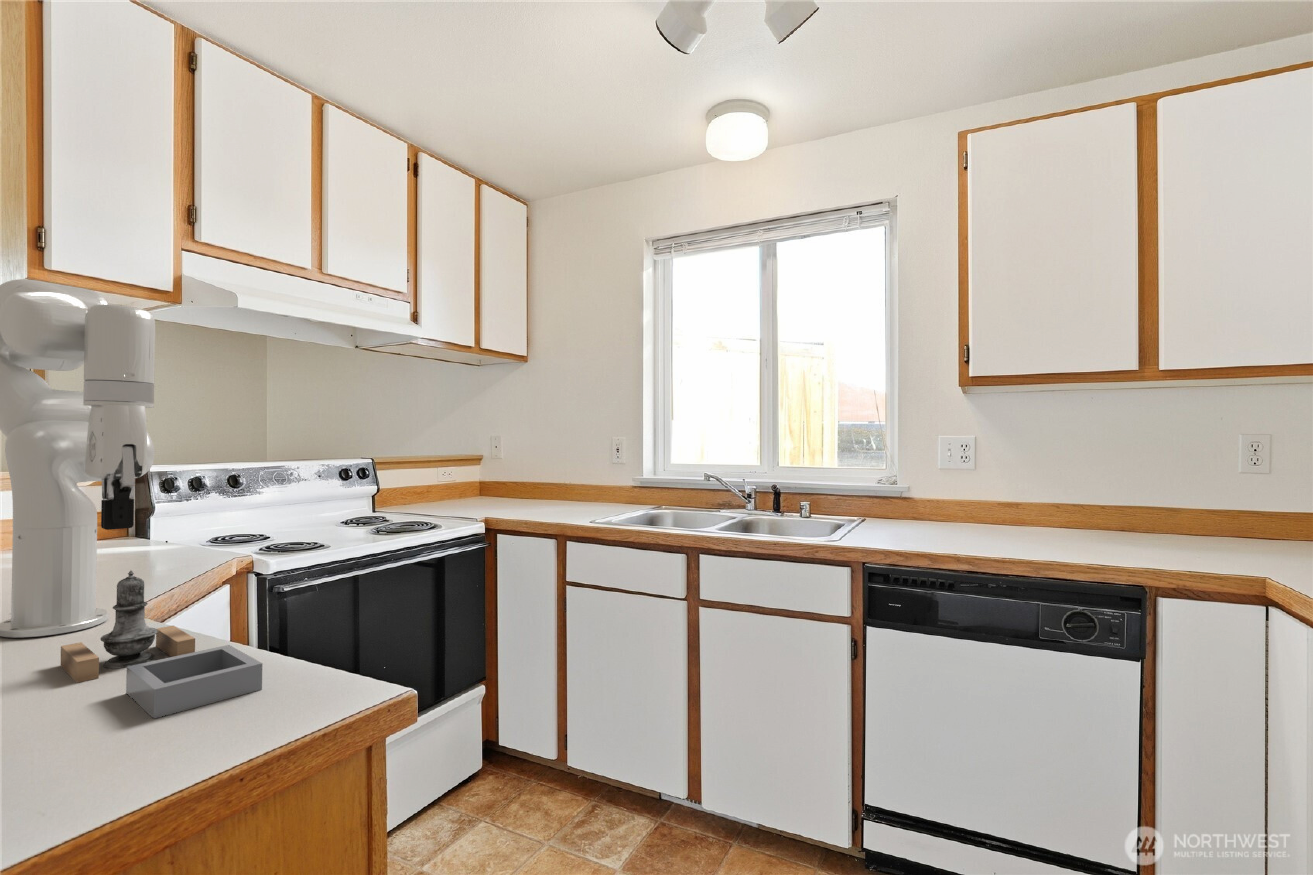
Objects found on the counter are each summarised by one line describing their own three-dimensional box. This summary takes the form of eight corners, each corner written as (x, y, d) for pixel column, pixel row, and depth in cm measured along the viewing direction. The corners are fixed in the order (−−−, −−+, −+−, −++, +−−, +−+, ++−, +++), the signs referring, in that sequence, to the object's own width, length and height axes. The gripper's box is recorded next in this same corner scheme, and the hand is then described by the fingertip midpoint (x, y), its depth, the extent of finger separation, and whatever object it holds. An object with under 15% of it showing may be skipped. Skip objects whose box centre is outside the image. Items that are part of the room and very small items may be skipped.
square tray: (126, 693, 74) (126, 666, 74) (228, 668, 82) (228, 644, 82) (154, 718, 68) (154, 689, 68) (261, 689, 76) (262, 663, 76)
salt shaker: (124, 671, 81) (126, 576, 81) (87, 667, 82) (89, 573, 82) (168, 655, 87) (170, 567, 87) (133, 652, 88) (135, 564, 88)
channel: (60, 665, 83) (60, 646, 83) (172, 642, 92) (173, 625, 92) (77, 682, 77) (77, 661, 77) (194, 656, 87) (195, 638, 87)
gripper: (71, 396, 90) (68, 525, 90) (98, 392, 81) (95, 537, 81) (137, 399, 96) (135, 521, 96) (170, 396, 87) (167, 530, 87)
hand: (117, 528), depth 89 cm, fingers closed
